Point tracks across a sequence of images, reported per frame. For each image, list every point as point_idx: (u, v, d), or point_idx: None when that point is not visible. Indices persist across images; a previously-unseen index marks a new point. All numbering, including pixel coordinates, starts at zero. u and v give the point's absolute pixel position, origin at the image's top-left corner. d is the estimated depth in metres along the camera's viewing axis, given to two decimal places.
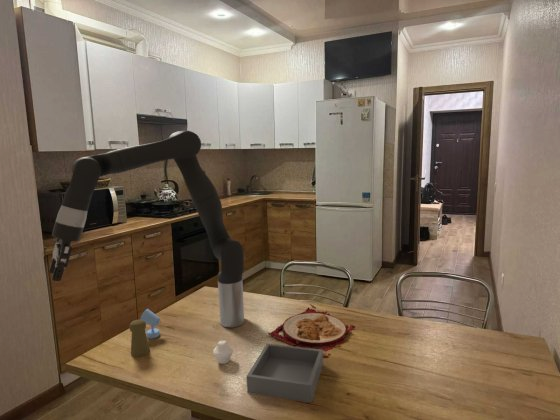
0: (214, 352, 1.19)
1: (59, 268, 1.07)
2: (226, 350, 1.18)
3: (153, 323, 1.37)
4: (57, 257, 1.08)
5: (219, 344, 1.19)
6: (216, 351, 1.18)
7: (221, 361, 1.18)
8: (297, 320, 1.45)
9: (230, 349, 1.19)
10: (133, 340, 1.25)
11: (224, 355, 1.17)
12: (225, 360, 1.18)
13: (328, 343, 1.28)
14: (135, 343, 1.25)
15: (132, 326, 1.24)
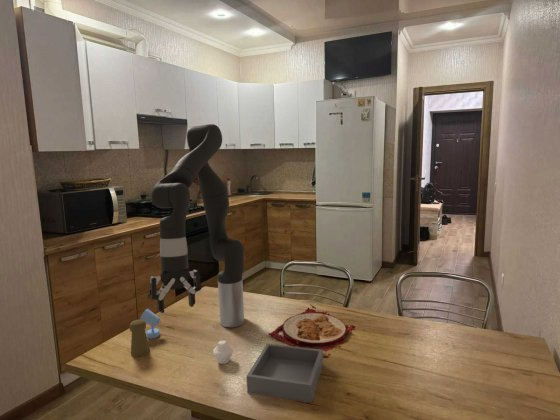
0: (214, 352, 1.19)
1: None
2: (226, 350, 1.18)
3: (153, 323, 1.37)
4: None
5: (219, 344, 1.19)
6: (216, 351, 1.18)
7: (221, 361, 1.18)
8: (297, 320, 1.45)
9: (230, 349, 1.19)
10: (133, 340, 1.25)
11: (224, 355, 1.17)
12: (225, 360, 1.18)
13: (328, 343, 1.28)
14: (135, 343, 1.25)
15: (132, 326, 1.24)
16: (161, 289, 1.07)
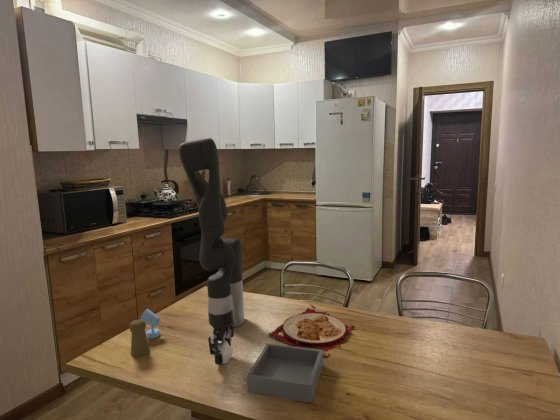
0: None
1: None
2: (226, 350, 1.18)
3: (153, 323, 1.37)
4: None
5: None
6: None
7: None
8: (297, 320, 1.45)
9: (230, 349, 1.19)
10: (133, 340, 1.25)
11: (224, 355, 1.17)
12: (225, 360, 1.18)
13: (328, 343, 1.28)
14: (135, 343, 1.25)
15: (132, 326, 1.24)
16: None
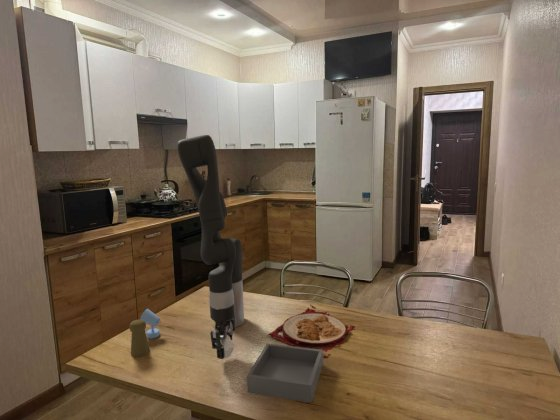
0: None
1: None
2: (228, 344, 1.18)
3: (153, 323, 1.37)
4: None
5: None
6: None
7: None
8: (297, 320, 1.45)
9: (232, 343, 1.19)
10: (133, 340, 1.25)
11: (226, 350, 1.17)
12: (227, 354, 1.19)
13: (328, 343, 1.28)
14: (135, 343, 1.25)
15: (132, 326, 1.24)
16: None
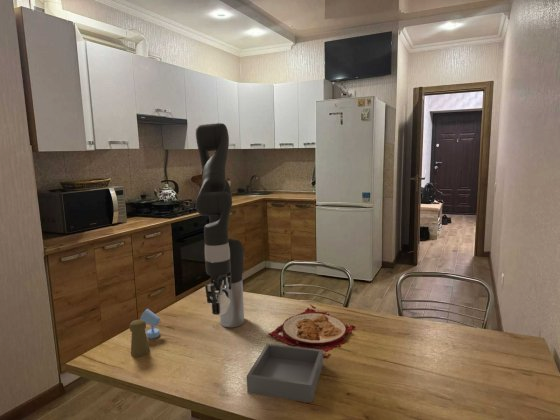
0: None
1: None
2: (223, 300, 1.16)
3: (153, 323, 1.37)
4: None
5: None
6: None
7: None
8: (297, 320, 1.45)
9: (228, 300, 1.17)
10: (133, 340, 1.25)
11: (221, 305, 1.15)
12: (222, 310, 1.16)
13: (328, 343, 1.28)
14: (135, 343, 1.25)
15: (132, 326, 1.24)
16: None
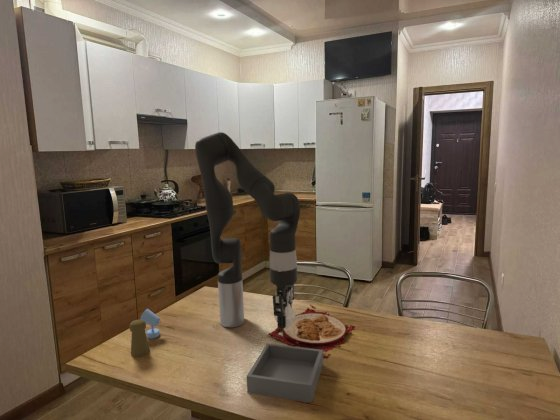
0: None
1: None
2: (289, 312, 1.06)
3: (153, 323, 1.37)
4: None
5: None
6: None
7: None
8: (297, 320, 1.45)
9: (293, 312, 1.07)
10: (133, 340, 1.25)
11: (287, 318, 1.05)
12: (288, 323, 1.06)
13: (328, 343, 1.28)
14: (135, 343, 1.25)
15: (132, 326, 1.24)
16: None
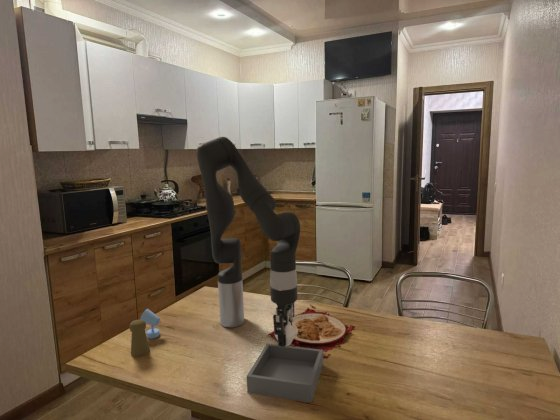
0: None
1: None
2: (289, 330, 1.07)
3: (153, 323, 1.37)
4: None
5: None
6: None
7: None
8: (297, 320, 1.45)
9: (293, 330, 1.08)
10: (133, 340, 1.25)
11: (288, 336, 1.06)
12: (288, 342, 1.07)
13: (328, 343, 1.28)
14: (135, 343, 1.25)
15: (132, 326, 1.24)
16: None
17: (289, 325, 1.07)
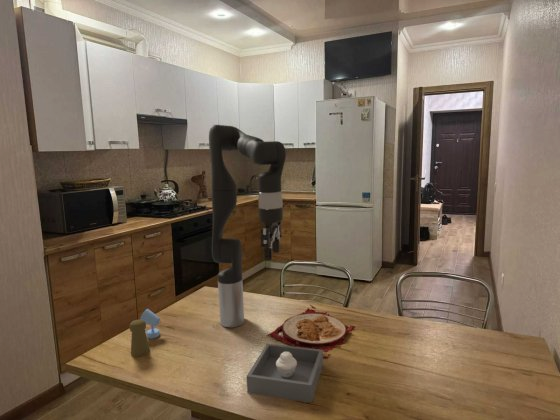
0: (277, 364, 1.09)
1: None
2: (291, 362, 1.08)
3: (153, 323, 1.37)
4: None
5: (283, 356, 1.09)
6: (280, 363, 1.09)
7: (285, 374, 1.09)
8: (297, 321, 1.45)
9: (294, 361, 1.10)
10: (133, 340, 1.25)
11: (289, 368, 1.07)
12: (290, 373, 1.09)
13: (328, 344, 1.28)
14: (135, 343, 1.25)
15: (132, 326, 1.24)
16: None
17: (290, 357, 1.09)
